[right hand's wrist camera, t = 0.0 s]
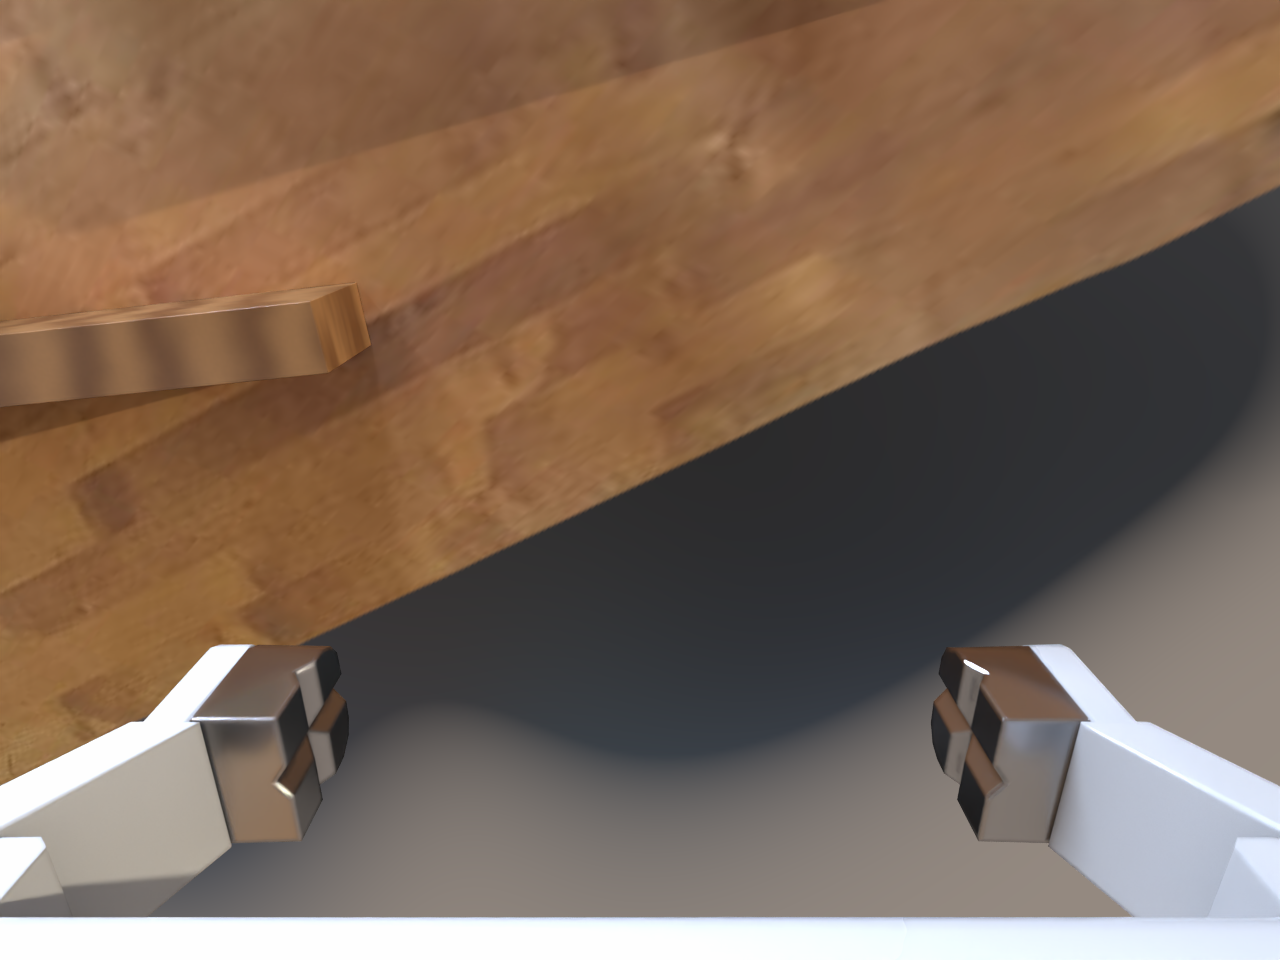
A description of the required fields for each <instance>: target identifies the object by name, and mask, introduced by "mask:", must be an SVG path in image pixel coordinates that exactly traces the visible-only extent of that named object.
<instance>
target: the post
mask: <svg viewBox="0 0 1280 960" xmlns="http://www.w3.org/2000/svg"><path fill="white" fill-rule="evenodd" d="M370 345H371V342H370V338H369V334H368V330H367V326H366V321H365V317H364V313H363V309H362V304H361V300H360V296H359V292H358V287H357V283H347V284H338V285H328V286H319V287H310V288H301V289H292V290H282V291H273V292H264V293H255V294H246V295H236V296H227V297H218V298H209V299H200V300H190V301H181V302H172V303H163V304H154V305H144V306H135V307H126V308H117V309H108V310H98V311H89V312H80V313H71V314H62V315H52V316H43V317H34V318H25V319H16V320H6V321H0V407H8V406H18V405H27V404H37V403H47V402H56V401H66V400H75V399H85V398H95V397H104V396H114V395H123V394H133V393H143V392H152V391H162V390H171V389H181V388H191V387H200V386H210V385H219V384H229V383H239V382H248V381H258V380H267V379H277V378H287V377H296V376H306V375H315V374H325V373H329V372H331V371H332V370H334V369H335V368H337V367H338V366H340V365H341V364H343V363H344V362H346V361H347V360H349V359H350V358H352V357H354V356H355V355H357V354H358V353H360V352H361V351H363V350H364V349H366V348H367V347H369V346H370Z"/></svg>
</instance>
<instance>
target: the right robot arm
mask: <svg viewBox="0 0 1280 960" xmlns="http://www.w3.org/2000/svg"><path fill="white" fill-rule="evenodd" d="M340 675H341V670H340V665H339V660H338V656H337V652H336V651H335V650H333V649H332V648H331V647H330V646H290V645H256V646H255V645H218V646H215V647H211V648H210V649H209V650H208V651H207V652H206V653H205V654H204V656H203V657H202V658H201V659H200V660H199V661H198V662H197V663H196V664H195V665H194V667H193V668H192V669H191V670H190V671H189V672H188V673H187V674H186V675H185V677H184V678H183V679H182V680H181V681H180V682H179V683H178V684H177V685H176V686H175V688H174V689H173V690H172V691H171V692H170V693H169V694H168V695H167V696H166V698H165V699H164V700H163V701H162V702H161V703H160V704H159V705H158V706H157V707H156V709H155V710H154V711H153V712H152V713H151V714H150V715H149V716H148V717H147V719H146V720H145V721H144V722H130V723H128V724H126V725H124V726H122V727H120V728H118V729H116V730H114V731H112V732H110V733H108V734H105V735H103V736H101V737H99V738H97V739H95V740H93V741H91V742H89V743H87V744H85V745H83V746H81V747H79V748H77V749H75V750H73V751H71V752H69V753H67V754H65V755H63V756H61V757H59V758H57V759H55V760H52V761H50V762H48V763H46V764H44V765H42V766H40V767H38V768H36V769H34V770H32V771H30V772H28V773H26V774H24V775H22V776H20V777H18V778H16V779H14V780H12V781H10V782H8V783H6V784H4V785H2V786H0V960H1280V786H1278V785H1276V784H1274V783H1272V782H1270V781H1268V780H1266V779H1264V778H1262V777H1260V776H1258V775H1256V774H1254V773H1252V772H1250V771H1248V770H1246V769H1244V768H1242V767H1239V766H1237V765H1235V764H1233V763H1231V762H1229V761H1227V760H1225V759H1223V758H1221V757H1219V756H1217V755H1215V754H1213V753H1211V752H1209V751H1207V750H1205V749H1203V748H1201V747H1199V746H1197V745H1195V744H1193V743H1191V742H1189V741H1187V740H1185V739H1183V738H1181V737H1179V736H1176V735H1174V734H1172V733H1170V732H1168V731H1166V730H1164V729H1162V728H1160V727H1158V726H1156V725H1154V724H1152V723H1150V722H1136V721H1135V720H1134V719H1133V717H1132V716H1131V715H1130V714H1129V713H1128V712H1127V711H1126V710H1125V709H1124V708H1123V706H1122V705H1121V704H1120V703H1119V702H1118V701H1117V700H1116V699H1115V698H1114V696H1113V695H1112V694H1111V693H1110V692H1109V691H1108V690H1107V689H1106V688H1105V687H1104V685H1103V684H1102V683H1101V682H1100V681H1099V680H1098V679H1097V678H1096V677H1095V675H1094V674H1093V673H1092V672H1091V671H1090V670H1089V669H1088V668H1087V667H1086V666H1085V664H1084V663H1083V662H1082V661H1081V660H1080V659H1079V658H1078V657H1077V655H1076V654H1075V653H1074V652H1073V651H1072V650H1071V649H1070V648H1068V647H1066V646H1064V645H1061V644H1049V645H1023V646H999V647H947V648H946V650H945V652H944V654H943V656H942V658H941V664H940V669H939V675H940V677H941V679H942V680H943V682H944V684H945V686H946V687H947V689H946V690H945V691H944V692H943V693H942V694H941V695H940V696H939V697H938V698H937V699H936V700H935V701H934V704H933V711H932V719H931V729H932V741H933V746H934V749H935V753H936V756H937V759H938V762H939V764H940V766H941V768H942V770H943V772H944V774H946V775H947V776H949V777H950V778H951V779H953V780H954V781H956V782H957V783H959V784H960V788H959V793H958V799H957V800H958V802H959V804H960V806H961V808H962V810H963V812H964V814H965V816H966V817H967V820H968V821H969V823H970V825H971V827H972V829H973V831H974V833H975V835H976V837H977V839H978V841H994V842H1030V843H1049V845H1048V847H1050V848H1051V849H1052V850H1053V851H1054V852H1056V853H1057V854H1058V855H1059V856H1061V857H1062V858H1063V859H1064V860H1065V861H1066V862H1068V863H1069V864H1070V865H1071V866H1072V867H1074V868H1075V869H1076V870H1077V871H1079V872H1080V873H1081V874H1082V875H1083V876H1085V877H1086V878H1087V879H1088V880H1089V881H1091V882H1092V883H1093V884H1094V885H1095V886H1097V887H1098V888H1099V889H1100V890H1101V891H1103V892H1104V893H1105V894H1106V895H1107V896H1109V897H1110V898H1111V899H1112V900H1113V901H1115V902H1116V903H1117V904H1118V905H1119V906H1121V907H1122V908H1123V909H1124V910H1125V911H1127V912H1128V913H1129V914H1130V915H1131V916H1133V917H1085V918H1084V917H1083V918H1082V917H1081V918H1080V917H600V918H599V917H597V918H596V917H595V918H594V917H591V918H588V917H587V918H455V917H454V918H452V917H449V918H448V917H446V918H444V917H442V918H441V917H439V918H437V917H436V918H435V917H431V918H429V917H427V918H426V917H421V918H420V917H415V918H414V917H413V918H412V917H399V918H398V917H395V918H393V917H372V918H371V917H148V916H149V915H150V914H151V913H152V912H154V911H155V910H156V909H157V908H158V907H160V906H161V905H162V904H163V903H164V902H166V901H167V900H168V899H169V898H170V897H172V896H173V895H174V894H175V893H177V892H178V891H179V890H180V889H181V888H182V887H184V886H185V885H186V884H187V883H188V882H190V881H191V880H192V879H193V878H195V877H196V876H197V875H198V874H199V873H201V872H202V871H203V870H204V869H205V868H207V867H208V866H209V865H210V864H211V863H213V862H214V861H215V860H216V859H217V858H219V857H220V856H221V855H222V854H223V853H225V852H226V851H227V850H228V849H230V848H231V843H250V842H285V841H302V839H303V837H304V835H305V833H306V831H307V829H308V827H309V825H310V823H311V821H312V819H313V818H314V816H315V814H316V812H317V810H318V808H319V806H320V804H321V802H322V800H323V799H322V793H321V788H320V784H321V783H323V782H324V781H326V780H327V779H329V778H330V777H331V776H333V775H334V774H336V772H337V770H338V768H339V766H340V764H341V761H342V759H343V757H344V753H345V748H346V744H347V739H348V735H349V716H348V710H347V704H346V701H345V700H344V699H343V698H342V697H341V696H340V695H339V694H338V693H337V692H336V691H335V690H334V689H333V687H334V685H335V684H336V682H337V680H338V679H339V677H340Z"/></svg>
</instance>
